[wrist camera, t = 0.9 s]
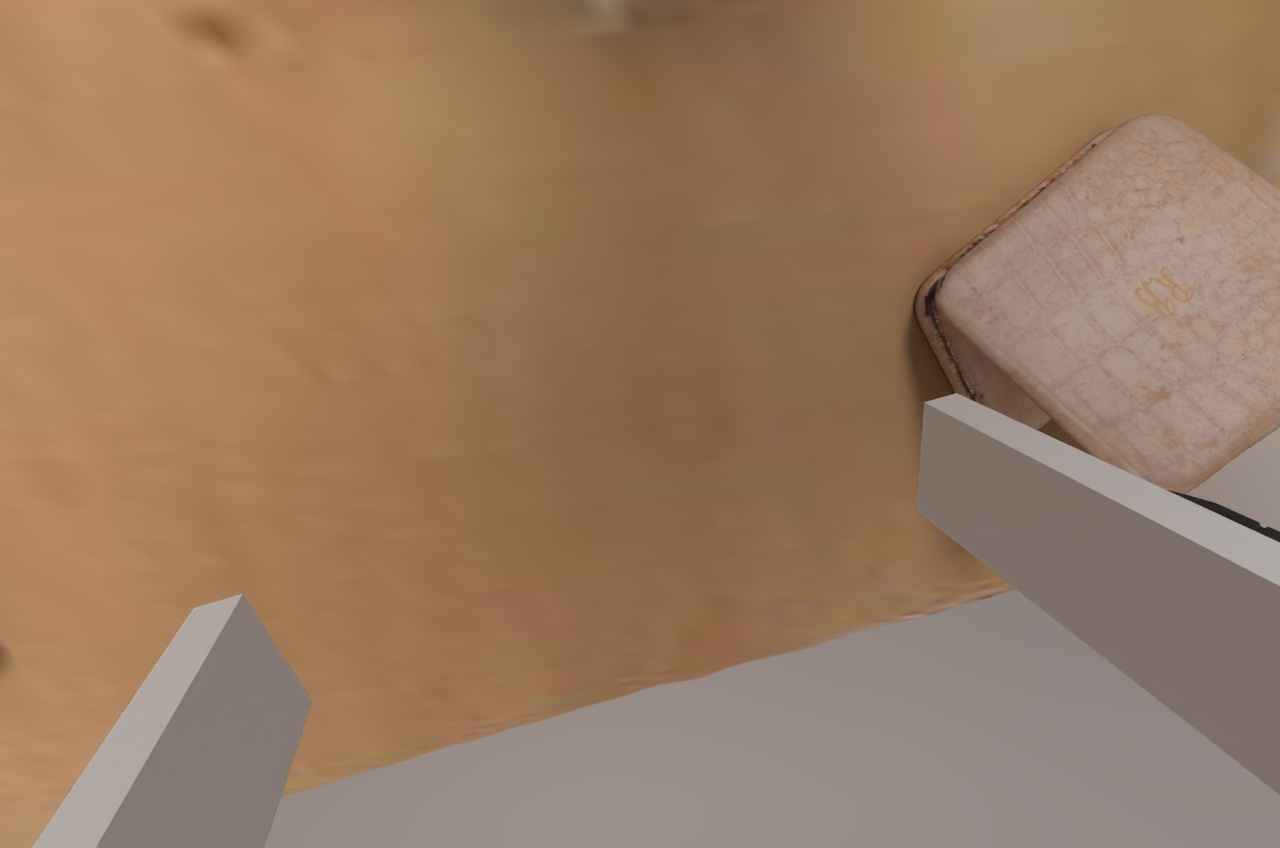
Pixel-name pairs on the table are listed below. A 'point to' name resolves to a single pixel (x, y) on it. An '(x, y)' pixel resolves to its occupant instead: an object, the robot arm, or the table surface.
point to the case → (1125, 305)
